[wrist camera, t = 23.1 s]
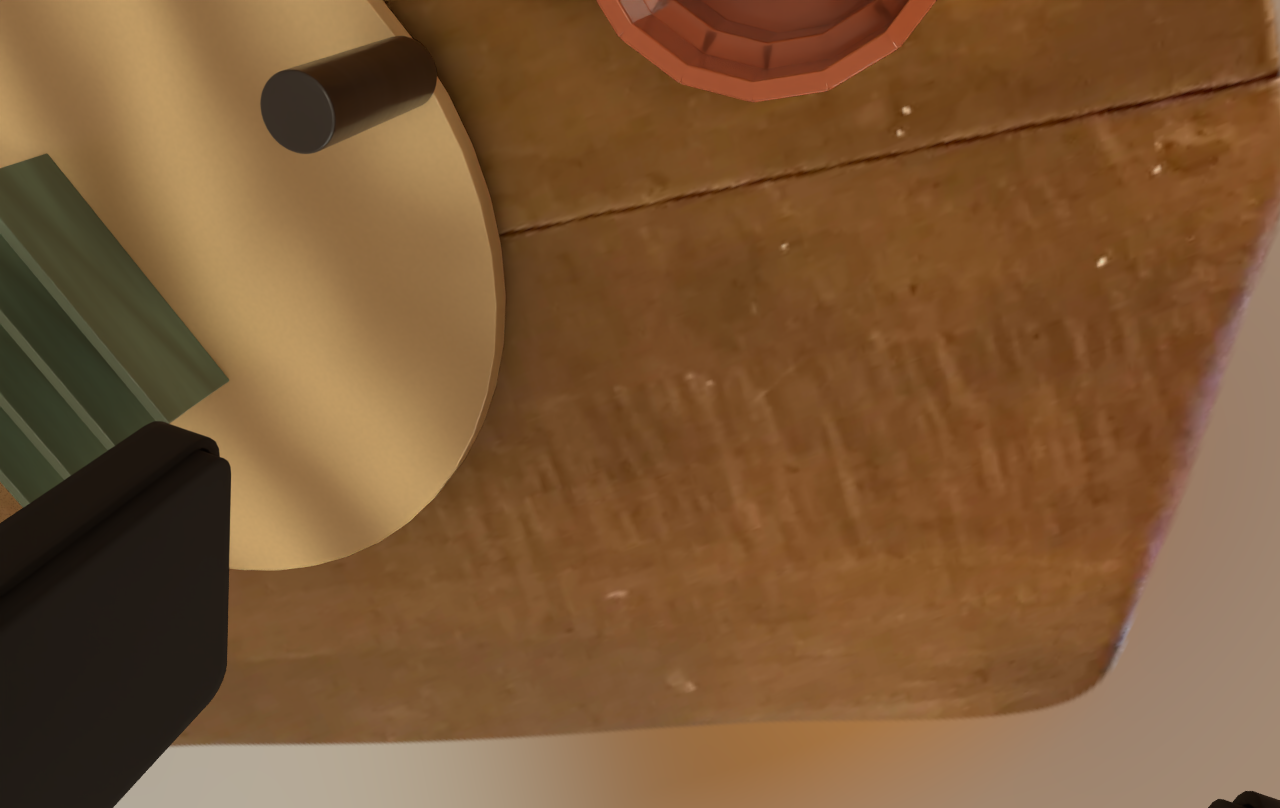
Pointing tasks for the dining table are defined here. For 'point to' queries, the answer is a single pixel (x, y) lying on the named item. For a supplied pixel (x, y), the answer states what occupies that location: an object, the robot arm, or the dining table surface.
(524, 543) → the dining table surface
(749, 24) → the bowl
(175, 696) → the robot arm
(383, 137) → the dish rack
